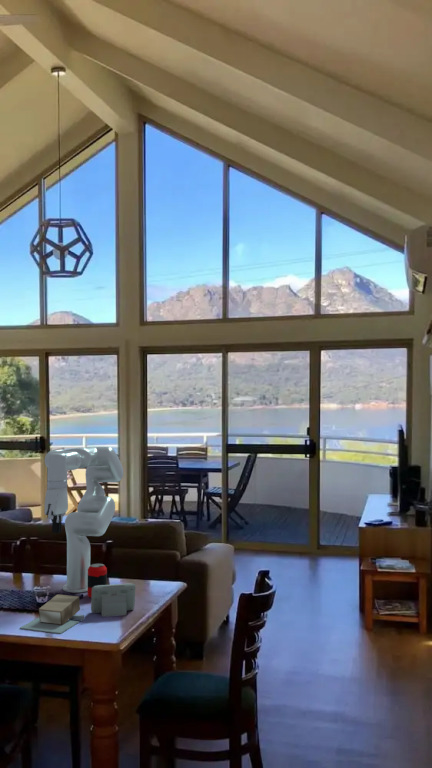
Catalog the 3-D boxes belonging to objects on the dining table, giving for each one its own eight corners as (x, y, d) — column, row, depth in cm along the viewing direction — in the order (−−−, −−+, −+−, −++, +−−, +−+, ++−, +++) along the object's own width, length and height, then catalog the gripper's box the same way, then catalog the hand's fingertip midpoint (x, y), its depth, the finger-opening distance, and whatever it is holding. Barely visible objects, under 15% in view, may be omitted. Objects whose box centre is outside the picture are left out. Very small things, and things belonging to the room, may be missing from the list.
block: (57, 594, 238) (38, 609, 226) (79, 596, 235) (60, 611, 223) (58, 607, 238) (39, 622, 227) (80, 609, 235) (62, 625, 224)
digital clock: (136, 608, 244) (136, 580, 244) (134, 616, 235) (134, 587, 235) (92, 609, 243) (92, 580, 243) (89, 617, 234) (89, 587, 234)
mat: (39, 617, 233) (39, 616, 233) (79, 622, 228) (79, 621, 228) (19, 628, 222) (19, 627, 222) (60, 634, 217) (60, 632, 217)
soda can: (96, 599, 255) (96, 568, 256) (83, 596, 260) (83, 565, 260) (110, 595, 261) (110, 564, 262) (97, 591, 266) (97, 562, 266)
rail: (45, 614, 236) (45, 610, 236) (84, 619, 231) (84, 615, 231) (43, 616, 235) (43, 612, 235) (82, 620, 230) (82, 616, 230)
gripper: (59, 482, 260) (58, 528, 260) (37, 486, 246) (37, 535, 245) (75, 483, 258) (75, 529, 257) (55, 487, 244) (54, 536, 243)
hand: (56, 532), depth 251 cm, fingers closed
